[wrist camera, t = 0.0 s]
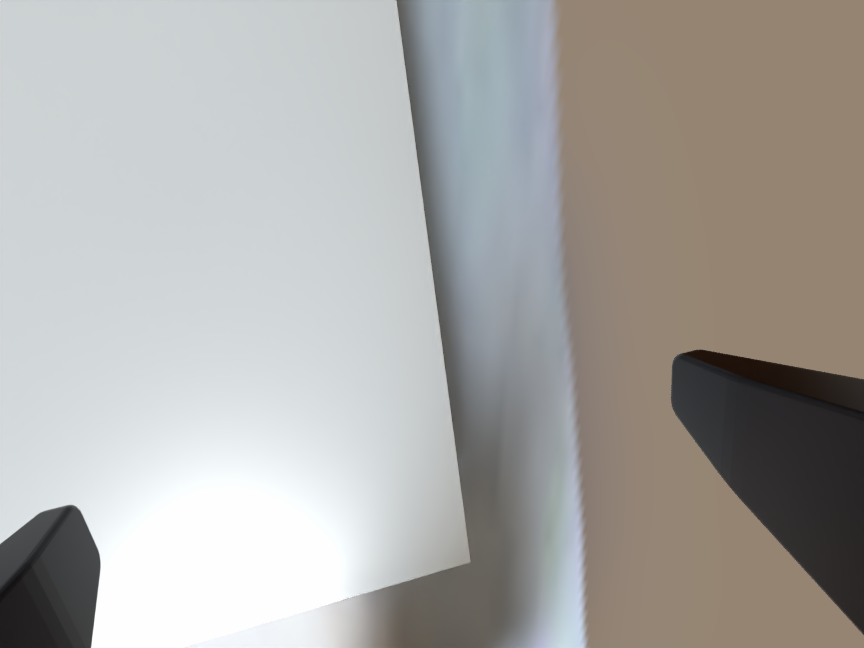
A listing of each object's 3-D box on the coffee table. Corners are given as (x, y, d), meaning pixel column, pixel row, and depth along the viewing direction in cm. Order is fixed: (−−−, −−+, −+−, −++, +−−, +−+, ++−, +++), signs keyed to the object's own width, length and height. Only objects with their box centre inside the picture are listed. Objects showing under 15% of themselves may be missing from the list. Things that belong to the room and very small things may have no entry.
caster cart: (444, 500, 28) (470, 562, 25) (72, 602, 25) (40, 688, 22) (362, -52, 19) (385, -82, 16) (-219, 7, 17) (-353, -13, 13)
